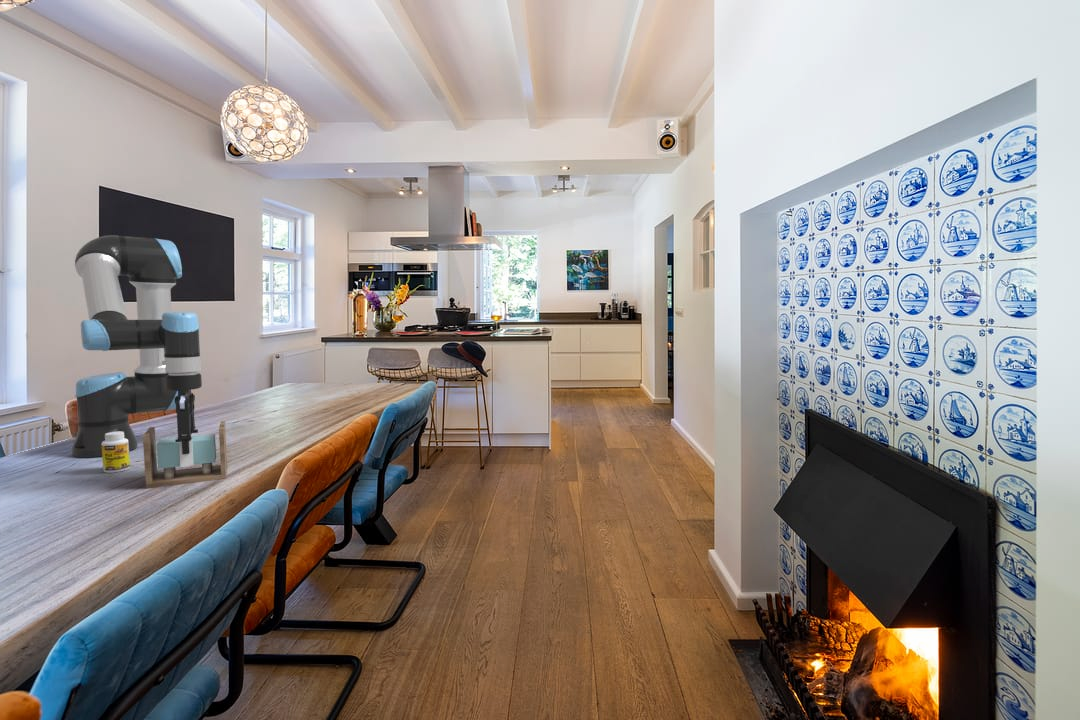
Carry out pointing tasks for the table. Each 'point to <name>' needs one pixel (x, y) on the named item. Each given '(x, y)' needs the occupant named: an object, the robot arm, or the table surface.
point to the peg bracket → (184, 475)
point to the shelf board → (171, 455)
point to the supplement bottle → (115, 452)
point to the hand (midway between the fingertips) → (188, 462)
